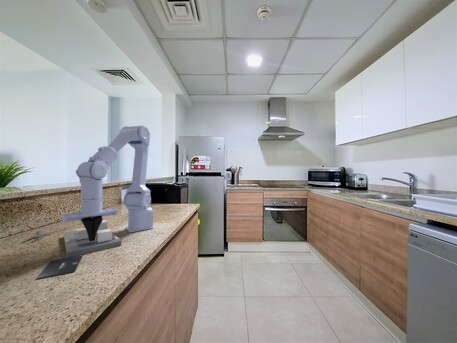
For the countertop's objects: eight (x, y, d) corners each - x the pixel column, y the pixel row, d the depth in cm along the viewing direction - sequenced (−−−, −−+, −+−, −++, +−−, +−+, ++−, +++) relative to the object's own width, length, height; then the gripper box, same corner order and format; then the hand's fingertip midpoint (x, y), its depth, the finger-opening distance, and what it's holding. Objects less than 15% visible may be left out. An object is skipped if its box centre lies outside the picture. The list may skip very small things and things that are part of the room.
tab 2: (105, 227, 79) (105, 220, 79) (107, 229, 76) (107, 221, 76) (94, 229, 76) (94, 221, 76) (95, 231, 74) (95, 223, 74)
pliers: (71, 224, 88) (57, 237, 70) (71, 226, 88) (57, 240, 70) (42, 227, 83) (20, 242, 65) (42, 229, 83) (20, 245, 65)
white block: (109, 237, 67) (109, 228, 67) (111, 239, 65) (111, 230, 65) (95, 239, 65) (95, 231, 65) (97, 242, 62) (97, 233, 62)
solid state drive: (82, 257, 56) (82, 255, 56) (74, 273, 47) (74, 271, 47) (50, 263, 53) (50, 260, 53) (36, 281, 44) (36, 278, 44)
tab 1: (90, 235, 70) (90, 226, 70) (91, 237, 67) (91, 228, 67) (76, 237, 67) (76, 228, 67) (77, 240, 64) (77, 231, 64)
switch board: (107, 229, 81) (107, 225, 81) (121, 245, 65) (121, 240, 65) (63, 237, 72) (63, 233, 72) (67, 257, 55) (67, 252, 55)
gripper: (113, 195, 70) (113, 232, 70) (61, 199, 60) (61, 242, 60) (119, 197, 66) (119, 237, 66) (63, 202, 55) (63, 249, 55)
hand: (91, 240), depth 62 cm, fingers closed
